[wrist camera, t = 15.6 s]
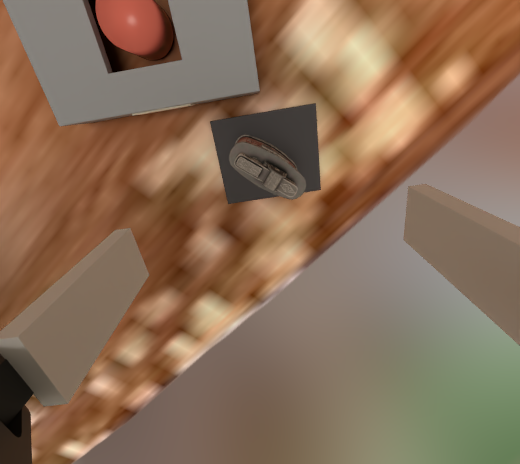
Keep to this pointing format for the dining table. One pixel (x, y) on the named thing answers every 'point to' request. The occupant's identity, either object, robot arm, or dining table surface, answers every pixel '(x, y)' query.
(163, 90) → the button panel
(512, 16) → the dining table surface
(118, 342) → the dining table surface
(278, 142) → the mat
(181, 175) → the dining table surface
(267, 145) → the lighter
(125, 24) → the red dome button
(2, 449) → the robot arm
